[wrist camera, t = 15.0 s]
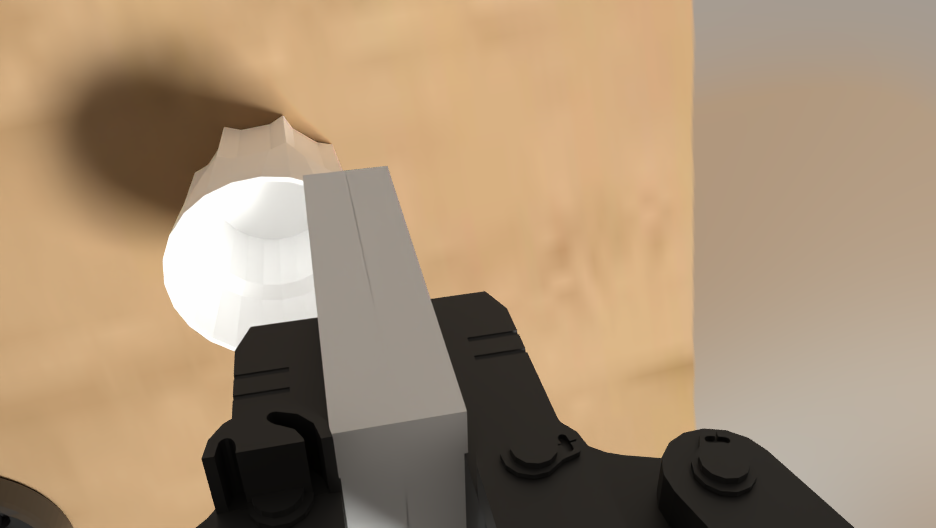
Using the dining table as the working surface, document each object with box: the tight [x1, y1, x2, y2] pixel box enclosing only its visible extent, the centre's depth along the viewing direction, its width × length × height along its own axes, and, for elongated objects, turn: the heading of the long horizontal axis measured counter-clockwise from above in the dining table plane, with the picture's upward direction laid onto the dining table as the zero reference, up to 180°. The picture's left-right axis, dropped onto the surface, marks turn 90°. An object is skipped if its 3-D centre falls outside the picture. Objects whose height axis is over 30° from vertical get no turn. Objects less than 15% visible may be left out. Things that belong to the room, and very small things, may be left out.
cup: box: [163, 115, 343, 351], centre depth 42 cm, size 10×10×10 cm
